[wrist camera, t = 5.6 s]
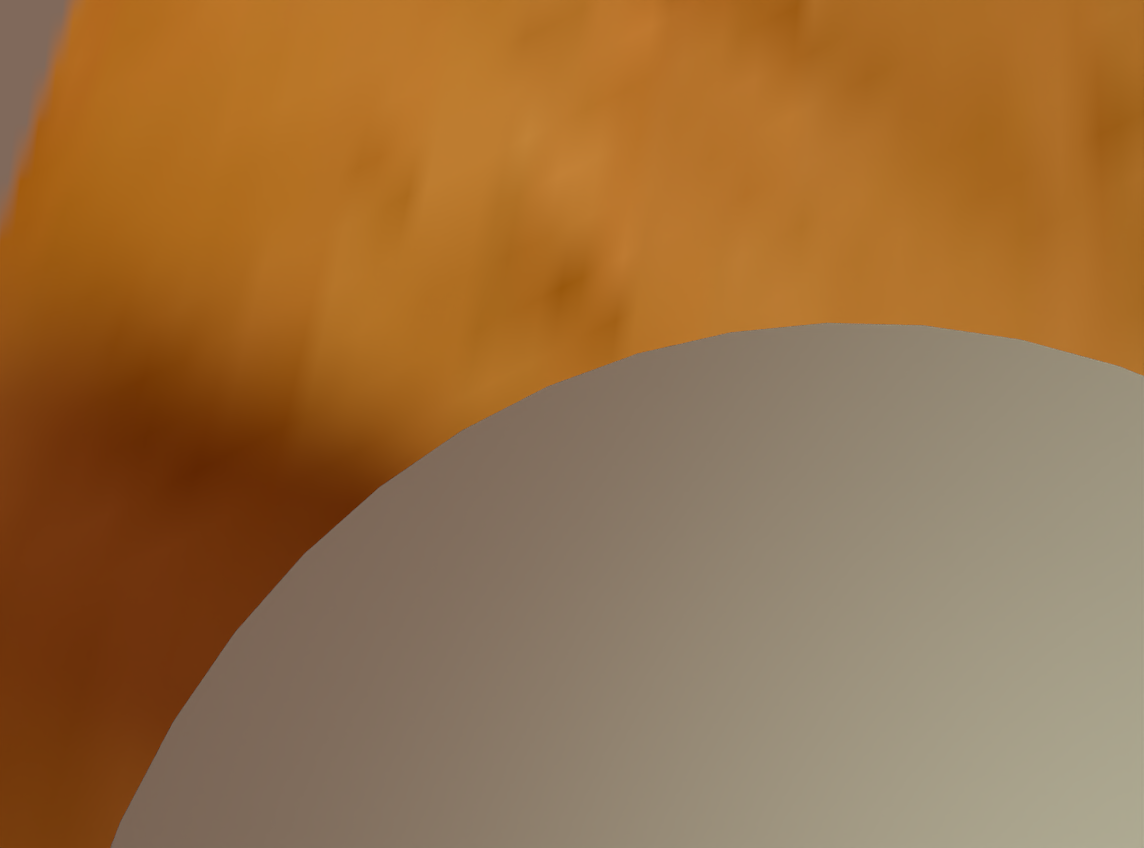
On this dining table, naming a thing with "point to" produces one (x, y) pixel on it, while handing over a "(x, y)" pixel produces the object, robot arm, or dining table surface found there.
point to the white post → (709, 618)
